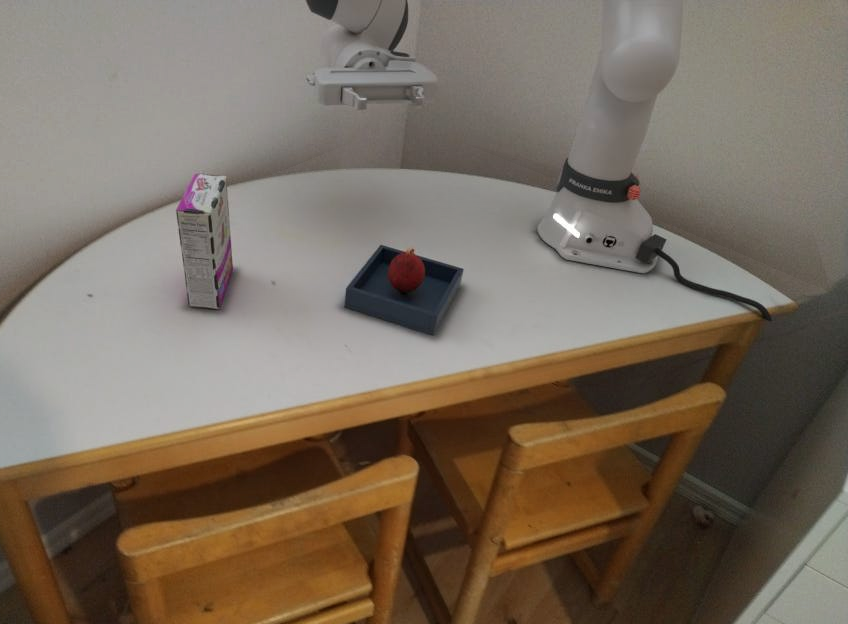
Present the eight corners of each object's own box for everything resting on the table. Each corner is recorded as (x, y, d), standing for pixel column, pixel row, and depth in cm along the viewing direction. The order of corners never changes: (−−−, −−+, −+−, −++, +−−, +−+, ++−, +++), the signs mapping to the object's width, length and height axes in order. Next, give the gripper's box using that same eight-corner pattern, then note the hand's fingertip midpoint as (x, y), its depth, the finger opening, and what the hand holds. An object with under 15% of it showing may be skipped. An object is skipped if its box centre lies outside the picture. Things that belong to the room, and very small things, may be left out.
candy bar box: (202, 267, 103) (193, 171, 93) (233, 270, 104) (228, 175, 93) (186, 308, 95) (174, 208, 84) (219, 311, 95) (212, 212, 84)
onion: (418, 306, 99) (426, 262, 94) (382, 298, 100) (387, 255, 95) (423, 286, 104) (431, 243, 99) (389, 279, 104) (395, 236, 99)
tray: (459, 286, 106) (463, 268, 104) (433, 335, 96) (437, 316, 93) (378, 262, 109) (380, 244, 107) (344, 307, 99) (345, 288, 96)
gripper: (304, 54, 102) (326, 83, 92) (422, 54, 108) (455, 81, 98) (303, 94, 106) (324, 127, 96) (416, 92, 112) (448, 122, 102)
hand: (391, 104), depth 97 cm, fingers open, 8 cm apart
